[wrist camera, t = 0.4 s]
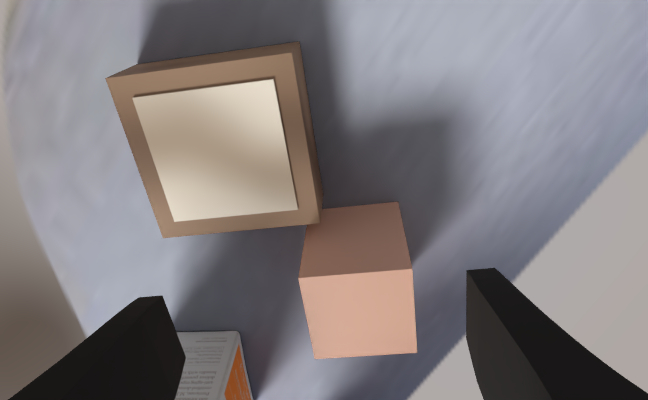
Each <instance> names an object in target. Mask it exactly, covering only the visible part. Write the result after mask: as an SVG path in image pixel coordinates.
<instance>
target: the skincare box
mask: <svg viewBox="0 0 648 400" xmlns="http://www.w3.org/2000/svg"><path fill="white" fill-rule="evenodd" d="M177 335H178V338H179V340H180V343H181V345H182V348H183V351H184V353H185V356H186V360H185V364H184V368H183V372H182V376H181V380H180V383H179V387H178V391H177V394H176V398H175V400H253V397H252V393H251V388H250V383H249V379H248V375H247V370H246V365H245V360H244V354H243V349H242V344H241V338H240V334H239V332H237V331H214V332H177Z"/></svg>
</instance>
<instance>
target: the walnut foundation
mask: <svg viewBox="0 0 648 400" xmlns="http://www.w3.org/2000/svg"><path fill="white" fill-rule="evenodd" d="M106 81H107V84H108V87H109V89H110V92H111V95H112V98H113V101H114V103H115V106H116V109H117V112H118V114H119V117H120V120H121V123H122V125H123V128H124V131H125V134H126V137H127V139H128V142H129V145H130V148H131V150H132V153H133V156H134V159H135V162H136V164H137V167H138V170H139V173H140V175H141V178H142V181H143V184H144V187H145V189H146V192H147V195H148V198H149V200H150V203H151V206H152V209H153V212H154V214H155V217H156V220H157V223H158V225H159V228H160V231H161V234H162V237H163V238H169V237H180V236H191V235H201V234H212V233H222V232H233V231H244V230H254V229H265V228H275V227H286V226H297V225H307V224H318V223H320V220H321V211H322V202H323V189H322V182H321V176H320V170H319V163H318V157H317V151H316V144H315V138H314V131H313V125H312V119H311V112H310V106H309V99H308V93H307V87H306V80H305V74H304V67H303V61H302V55H301V48H300V42H292V43H285V44H278V45H271V46H264V47H257V48H250V49H242V50H235V51H228V52H221V53H214V54H207V55H200V56H193V57H186V58H178V59H171V60H164V61H157V62H150V63H143V64H136V65H134V66H132V67H130V68H127V69H125V70H123V71H121V72H119V73H116V74H114V75H112V76H110V77H107V78H106Z"/></svg>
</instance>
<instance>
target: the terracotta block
mask: <svg viewBox="0 0 648 400" xmlns="http://www.w3.org/2000/svg"><path fill="white" fill-rule="evenodd" d="M298 279H299V284H300V289H301V294H302V299H303V304H304V309H305V313H306V318H307V323H308V328H309V333H310V338H311V343H312V347H313V352H314V357H315V359H324V358H340V357H357V356H373V355H390V354H406V353H417V340H416V323H415V306H414V289H413V272H412V265H411V260H410V255H409V251H408V246H407V241H406V236H405V232H404V227H403V222H402V217H401V213H400V208H399V203H398V202H389V203H379V204H369V205H359V206H348V207H338V208H328V209H322V211H321V220H320V223H318V224H307V228H306V234H305V240H304V246H303V252H302V258H301V264H300V270H299V277H298Z"/></svg>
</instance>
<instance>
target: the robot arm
mask: <svg viewBox="0 0 648 400" xmlns="http://www.w3.org/2000/svg"><path fill="white" fill-rule="evenodd" d="M466 339H467V343H468V347H469V351H470V355H471V359H472V363H473V367H474V371H475V375H476V379H477V382H478V385H479V388H480V390H481V393H482V396H483V399H484V400H648V393H646V392H645V391H643V390H642V389H640V388H639V387H637V386H636V385H635V384H633V383H632V382H630V381H629V380H627V379H626V378H624V377H623V376H621V375H620V374H619V373H617V372H616V371H615V370H613V369H612V368H611V367H609V366H608V365H607V364H605V363H604V362H602V361H601V360H600V359H599V358H597V357H596V356H595V355H594V354H592V353H591V352H590V351H588V350H587V349H586V348H585V347H583V346H582V345H581V344H580V343H579V342H577V341H576V340H575V339H574V338H572V337H571V336H570V335H569V334H568V333H566V332H565V331H564V330H563V329H562V328H561V327H559V326H558V325H557V324H556V323H555V322H554V321H552V320H551V319H550V318H549V317H548V316H547V315H545V314H544V313H543V312H542V311H541V310H540V309H538V307H536V306H535V305H534V304H533V303H532V302H531V301H530V300H529V299H528V298H527V297H526V296H524V295H523V294H522V293H521V292H520V291H519V290H518V289H517V288H516V287H515V286H514V285H513V284H512V283H511V282H510V281H509V280H508V279H506V278H505V277H504V276H503V275H502V274H501V273H500V272H499V271H498V270H497V269H495V268H488V269H476V270H467V307H466ZM185 360H186V356H185V353H184V351H183V348H182V345H181V343H180V340H179V338H178V335H177V332H176V330H175V327H174V325H173V322H172V320H171V317H170V314H169V312H168V309H167V307H166V304H165V301H164V299H163V296H152V297H140V298H137V299H136V300H135V301H133V302H132V303H130V304H129V305H128V306H126V307H125V308H124V309H122V310H121V311H120V312H119V313H117V314H116V315H115V316H114V317H112V318H111V319H110V320H109V321H108V322H106V323H105V324H104V325H103V326H101V327H100V328H99V329H98V330H97V331H95V332H94V333H93V334H92V335H90V336H89V337H88V338H87V339H85V340H84V341H83V342H82V343H81V344H79V345H78V346H77V347H76V348H74V349H73V350H72V351H71V352H70V353H69V354H67V355H66V356H65V357H63V358H62V359H61V360H60V361H58V362H57V363H56V364H54V365H53V366H52V367H51V368H49V369H48V370H47V371H45V372H44V373H43V374H41V375H40V376H39V377H37V378H36V379H35V380H34V381H32V382H31V383H30V384H28V385H27V386H26V387H24V388H23V389H22V390H20V391H19V392H18V393H17V394H15V395H14V396H13V397H11V398H10V399H8V400H175V398H176V394H177V391H178V387H179V383H180V380H181V376H182V372H183V368H184V364H185Z"/></svg>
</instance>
